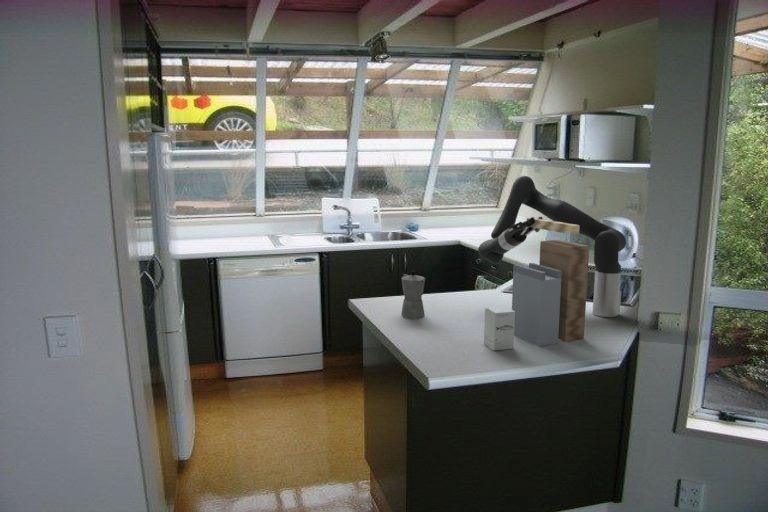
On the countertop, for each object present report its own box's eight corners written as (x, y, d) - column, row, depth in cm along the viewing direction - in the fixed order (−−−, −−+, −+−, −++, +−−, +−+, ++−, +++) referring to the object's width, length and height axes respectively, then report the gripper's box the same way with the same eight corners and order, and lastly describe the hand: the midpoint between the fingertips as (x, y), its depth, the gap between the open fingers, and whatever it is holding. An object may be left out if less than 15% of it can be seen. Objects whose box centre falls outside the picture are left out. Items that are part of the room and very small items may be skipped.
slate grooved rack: (529, 330, 197) (532, 262, 193) (557, 342, 184) (561, 270, 180) (510, 333, 194) (513, 264, 190) (538, 346, 181) (541, 272, 176)
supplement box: (493, 351, 176) (494, 312, 174) (483, 343, 183) (484, 307, 181) (514, 349, 178) (515, 311, 176) (503, 341, 185) (504, 305, 183)
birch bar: (526, 226, 204) (526, 218, 203) (533, 225, 205) (533, 217, 204) (571, 234, 182) (572, 225, 181) (579, 234, 183) (579, 225, 182)
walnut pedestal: (554, 326, 202) (558, 239, 196) (583, 338, 188) (589, 245, 182) (536, 329, 199) (540, 241, 193) (565, 341, 185) (570, 247, 179)
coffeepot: (432, 317, 214) (433, 271, 211) (413, 321, 209) (413, 274, 206) (409, 308, 227) (409, 265, 223) (390, 312, 221) (390, 268, 218)
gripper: (494, 229, 213) (519, 210, 198) (524, 227, 218) (550, 209, 203) (499, 247, 211) (524, 229, 196) (529, 245, 216) (556, 227, 201)
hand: (537, 219), depth 200 cm, fingers closed on birch bar, 3 cm apart
